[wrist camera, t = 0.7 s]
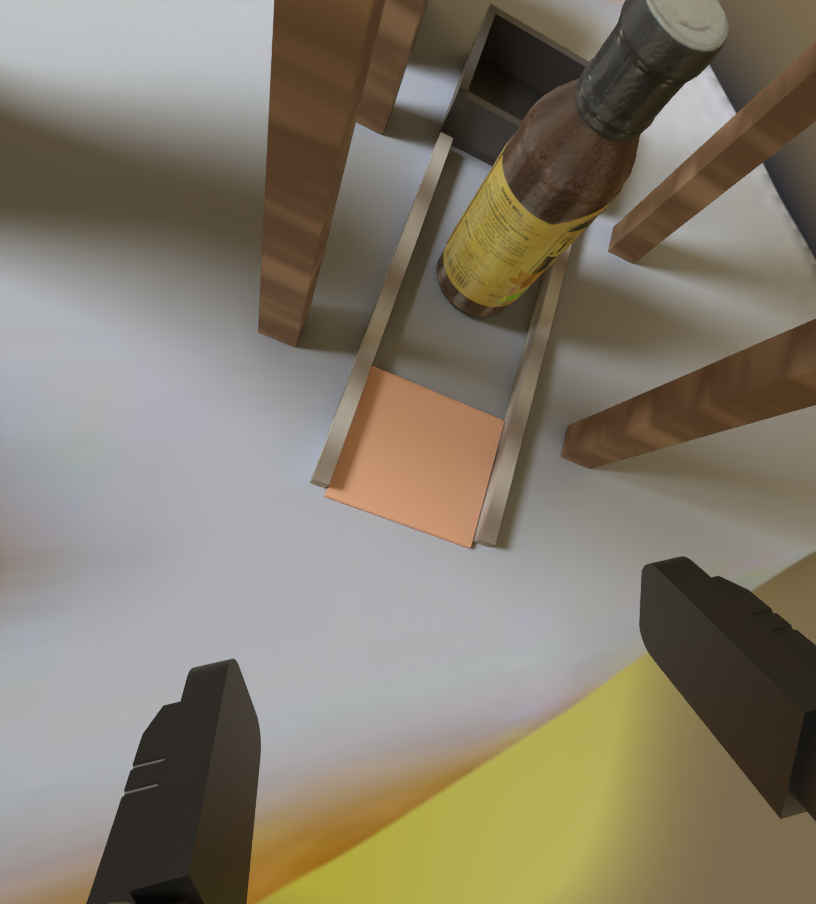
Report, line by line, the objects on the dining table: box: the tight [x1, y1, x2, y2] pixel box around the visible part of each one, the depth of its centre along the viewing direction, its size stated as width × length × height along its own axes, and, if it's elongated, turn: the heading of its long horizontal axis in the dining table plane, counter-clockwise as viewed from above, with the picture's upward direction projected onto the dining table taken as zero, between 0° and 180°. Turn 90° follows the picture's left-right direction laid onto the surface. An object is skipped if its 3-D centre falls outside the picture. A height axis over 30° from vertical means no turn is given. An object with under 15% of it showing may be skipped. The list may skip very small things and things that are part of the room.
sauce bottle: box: [437, 0, 728, 316], centre depth 29 cm, size 6×6×20 cm
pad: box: [324, 366, 505, 548], centre depth 34 cm, size 9×10×1 cm
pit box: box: [438, 4, 589, 166], centre depth 41 cm, size 9×12×4 cm
